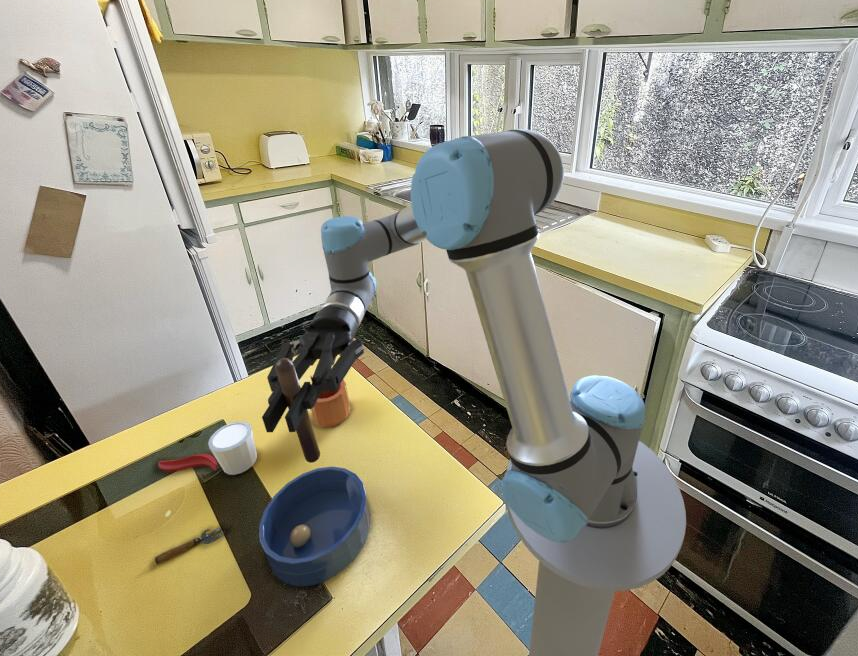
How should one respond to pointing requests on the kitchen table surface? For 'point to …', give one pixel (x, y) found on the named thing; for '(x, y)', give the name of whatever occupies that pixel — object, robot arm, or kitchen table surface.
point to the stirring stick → (290, 392)
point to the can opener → (189, 545)
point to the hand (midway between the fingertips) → (278, 424)
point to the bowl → (316, 525)
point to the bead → (300, 535)
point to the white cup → (234, 447)
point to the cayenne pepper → (188, 463)
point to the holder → (331, 407)
